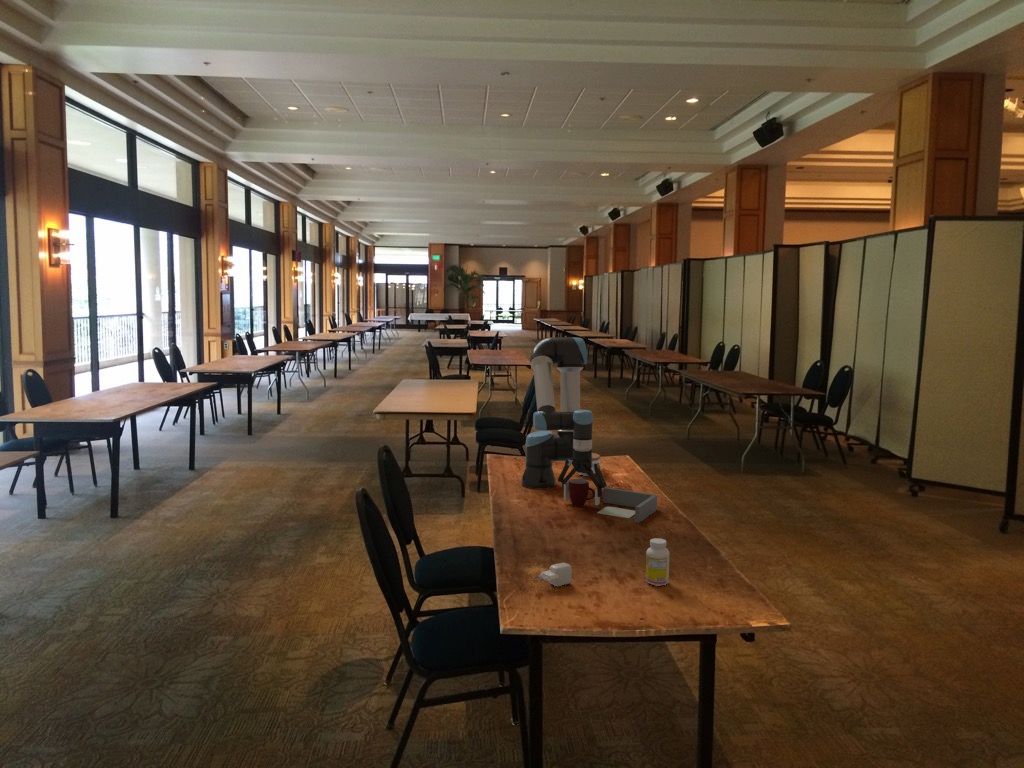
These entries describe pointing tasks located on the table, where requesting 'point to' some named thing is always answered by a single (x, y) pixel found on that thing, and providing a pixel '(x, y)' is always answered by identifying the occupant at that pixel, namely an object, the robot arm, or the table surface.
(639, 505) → the corner arena
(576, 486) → the mug
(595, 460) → the white lidded pot
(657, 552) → the supplement bottle
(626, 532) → the table surface
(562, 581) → the power adapter
